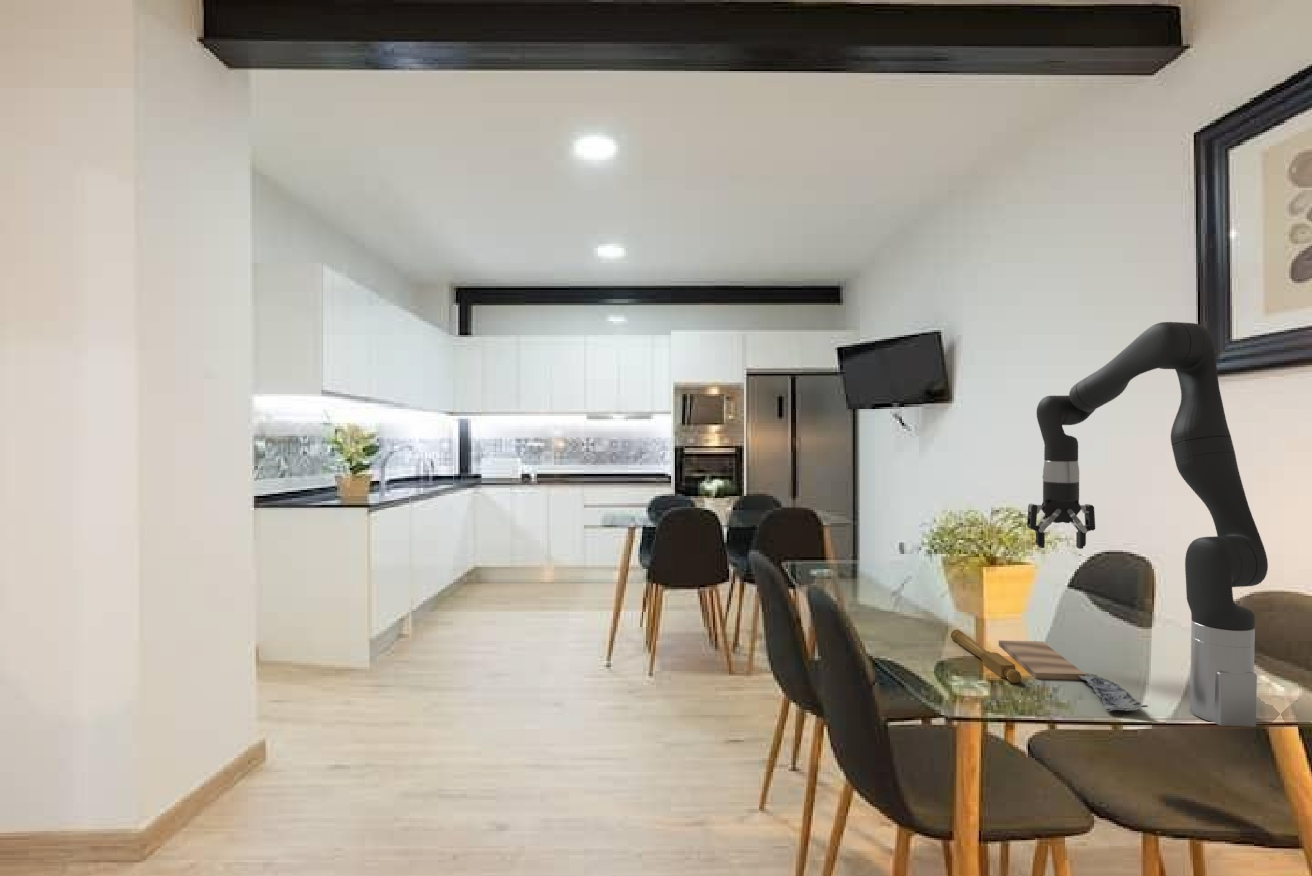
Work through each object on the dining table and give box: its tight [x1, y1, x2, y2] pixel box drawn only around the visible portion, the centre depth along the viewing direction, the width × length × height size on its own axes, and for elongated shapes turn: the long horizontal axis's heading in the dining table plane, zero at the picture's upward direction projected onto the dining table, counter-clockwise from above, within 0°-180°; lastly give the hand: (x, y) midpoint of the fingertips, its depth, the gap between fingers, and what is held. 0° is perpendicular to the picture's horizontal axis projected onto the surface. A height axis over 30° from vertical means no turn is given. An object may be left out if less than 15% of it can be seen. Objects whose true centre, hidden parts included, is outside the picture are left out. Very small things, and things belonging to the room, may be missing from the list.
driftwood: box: [1078, 672, 1149, 712], centre depth 145 cm, size 21×7×2 cm, turn 166°
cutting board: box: [998, 639, 1085, 681], centre depth 164 cm, size 22×10×1 cm, turn 173°
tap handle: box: [950, 629, 1022, 684], centre depth 166 cm, size 3×3×30 cm
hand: (1060, 547), depth 173 cm, fingers open, 8 cm apart
